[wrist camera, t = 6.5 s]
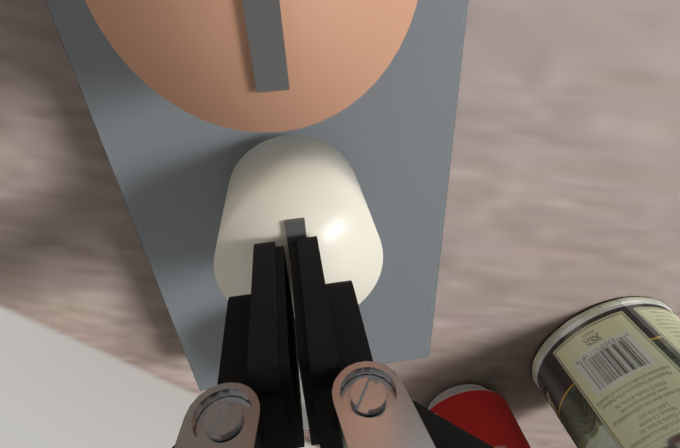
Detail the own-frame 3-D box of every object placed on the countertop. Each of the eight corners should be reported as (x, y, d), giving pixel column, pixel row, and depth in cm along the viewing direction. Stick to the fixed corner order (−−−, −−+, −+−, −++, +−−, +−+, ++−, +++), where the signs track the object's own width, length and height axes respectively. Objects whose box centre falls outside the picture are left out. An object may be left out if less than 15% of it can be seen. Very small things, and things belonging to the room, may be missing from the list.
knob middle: (224, 112, 15) (193, 208, 10) (343, 102, 16) (385, 187, 10) (245, 214, 18) (231, 340, 12) (347, 203, 18) (383, 319, 12)
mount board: (21, -200, 11) (-53, -248, 8) (450, -210, 12) (496, -255, 10) (208, 344, 23) (199, 390, 21) (413, 315, 24) (429, 356, 22)
